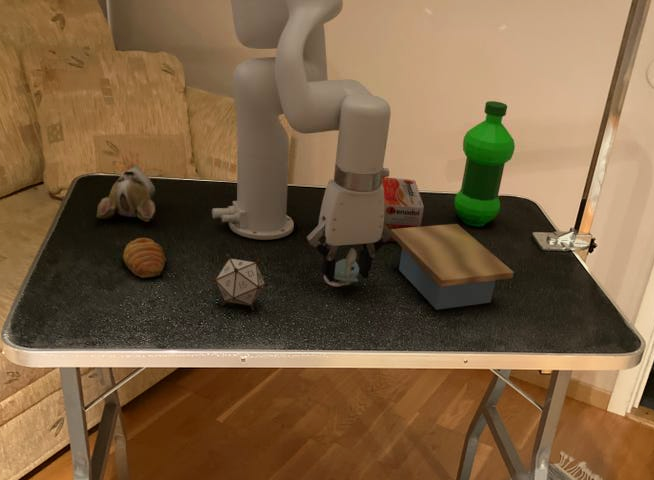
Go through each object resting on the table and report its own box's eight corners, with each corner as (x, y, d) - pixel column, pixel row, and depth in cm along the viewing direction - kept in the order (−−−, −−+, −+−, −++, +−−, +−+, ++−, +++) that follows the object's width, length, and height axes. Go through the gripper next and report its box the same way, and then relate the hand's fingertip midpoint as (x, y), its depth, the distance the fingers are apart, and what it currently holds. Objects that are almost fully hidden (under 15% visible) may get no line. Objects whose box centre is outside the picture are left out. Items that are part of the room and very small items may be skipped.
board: (440, 286, 122) (442, 280, 121) (389, 235, 137) (390, 229, 136) (512, 278, 128) (513, 272, 127) (456, 229, 142) (457, 223, 142)
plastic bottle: (506, 229, 160) (532, 112, 146) (463, 232, 156) (485, 112, 143) (483, 210, 168) (506, 97, 154) (442, 213, 164) (461, 96, 150)
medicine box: (419, 244, 149) (425, 207, 144) (378, 242, 148) (383, 204, 143) (410, 214, 161) (415, 178, 157) (372, 211, 160) (376, 175, 156)
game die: (228, 320, 124) (202, 264, 123) (275, 299, 126) (250, 244, 124) (229, 322, 116) (201, 262, 114) (280, 300, 117) (253, 240, 115)
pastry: (172, 278, 126) (171, 258, 124) (130, 283, 123) (128, 262, 121) (160, 254, 133) (159, 234, 131) (121, 257, 130) (119, 237, 128)
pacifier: (321, 289, 126) (357, 292, 126) (324, 256, 122) (360, 259, 123) (325, 268, 132) (358, 271, 132) (327, 236, 128) (362, 239, 129)
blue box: (436, 309, 128) (441, 278, 124) (398, 269, 139) (402, 240, 135) (490, 302, 132) (497, 272, 129) (450, 264, 143) (455, 235, 140)
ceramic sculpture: (163, 159, 147) (149, 192, 135) (166, 199, 152) (153, 234, 140) (107, 154, 146) (88, 187, 134) (112, 195, 151) (94, 231, 139)
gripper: (396, 165, 125) (381, 261, 135) (298, 169, 118) (291, 269, 128) (416, 184, 119) (399, 282, 130) (315, 188, 112) (305, 292, 123)
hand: (345, 275), depth 129 cm, fingers closed on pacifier, 5 cm apart
